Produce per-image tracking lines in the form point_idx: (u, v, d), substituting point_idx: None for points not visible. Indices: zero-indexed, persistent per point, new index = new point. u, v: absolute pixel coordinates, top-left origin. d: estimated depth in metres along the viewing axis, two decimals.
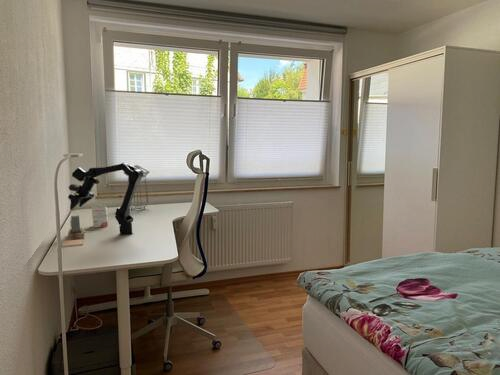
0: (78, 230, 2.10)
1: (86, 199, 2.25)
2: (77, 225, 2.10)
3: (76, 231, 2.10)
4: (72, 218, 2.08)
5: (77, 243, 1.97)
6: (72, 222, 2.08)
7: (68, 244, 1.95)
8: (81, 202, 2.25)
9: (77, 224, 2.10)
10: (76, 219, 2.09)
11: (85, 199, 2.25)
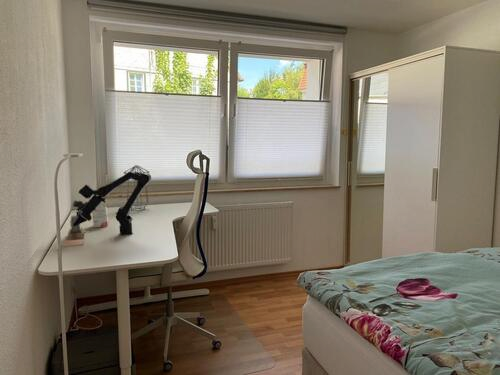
0: (78, 230, 2.10)
1: None
2: (77, 225, 2.10)
3: (76, 231, 2.10)
4: (72, 218, 2.08)
5: (77, 243, 1.97)
6: (72, 222, 2.08)
7: (68, 244, 1.95)
8: None
9: None
10: (76, 219, 2.09)
11: None
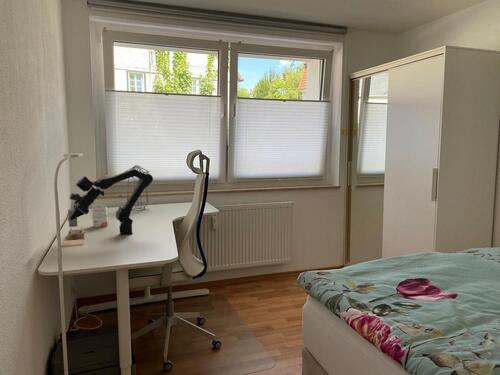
0: (75, 224, 2.02)
1: None
2: (74, 219, 2.01)
3: (73, 225, 2.01)
4: (69, 211, 1.99)
5: (77, 243, 1.97)
6: (69, 216, 2.00)
7: (68, 244, 1.95)
8: None
9: (75, 218, 2.01)
10: None
11: None
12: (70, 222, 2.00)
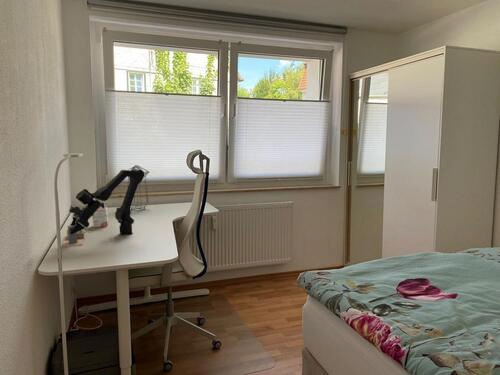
0: (76, 241, 1.97)
1: None
2: (74, 235, 1.97)
3: (73, 242, 1.97)
4: (69, 228, 1.95)
5: (77, 243, 1.97)
6: (69, 232, 1.95)
7: (68, 244, 1.95)
8: None
9: (75, 234, 1.97)
10: None
11: None
12: (70, 239, 1.96)
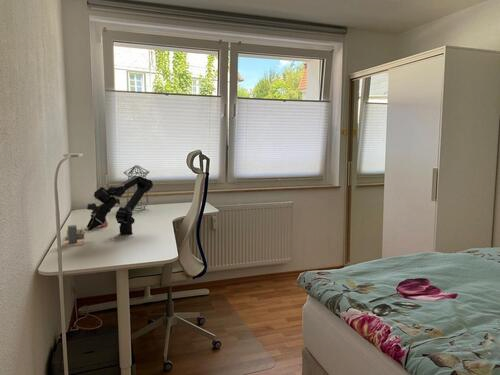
0: (76, 241, 1.97)
1: None
2: (74, 235, 1.97)
3: (73, 242, 1.97)
4: (69, 228, 1.95)
5: (77, 243, 1.97)
6: (69, 232, 1.95)
7: (68, 244, 1.95)
8: (90, 223, 2.07)
9: (75, 234, 1.97)
10: (73, 229, 1.96)
11: None
12: (70, 239, 1.96)
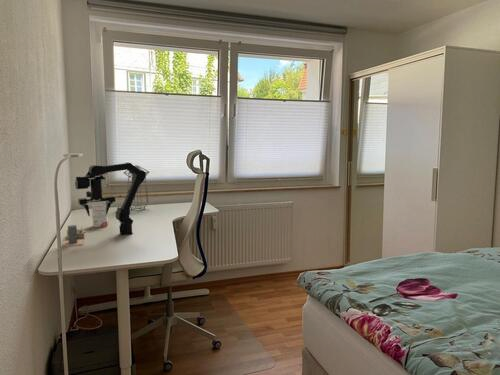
0: (76, 241, 1.97)
1: (107, 204, 2.09)
2: (74, 235, 1.97)
3: (73, 242, 1.97)
4: (69, 228, 1.95)
5: (77, 243, 1.97)
6: (69, 232, 1.95)
7: (68, 244, 1.95)
8: (106, 209, 2.10)
9: (75, 234, 1.97)
10: (73, 229, 1.96)
11: (106, 204, 2.09)
12: (70, 239, 1.96)
